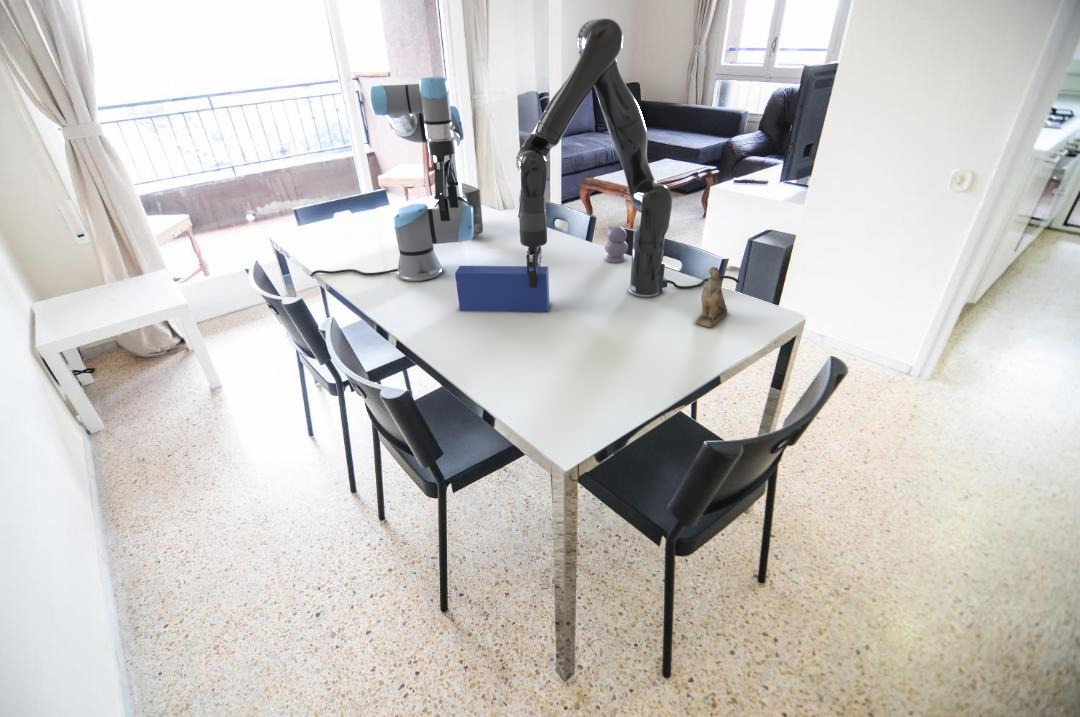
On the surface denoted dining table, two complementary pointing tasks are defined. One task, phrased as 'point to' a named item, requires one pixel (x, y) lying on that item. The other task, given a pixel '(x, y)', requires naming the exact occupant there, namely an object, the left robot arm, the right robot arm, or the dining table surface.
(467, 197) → the concrete block
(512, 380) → the dining table surface
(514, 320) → the dining table surface
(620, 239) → the cat figurine
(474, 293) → the box
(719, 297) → the brown carved statuette
